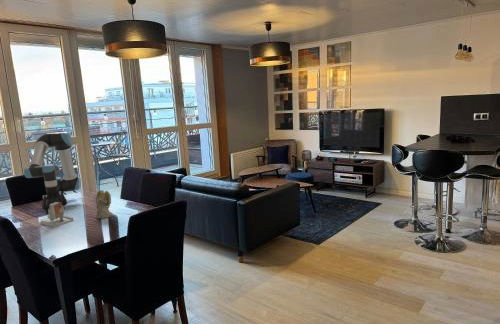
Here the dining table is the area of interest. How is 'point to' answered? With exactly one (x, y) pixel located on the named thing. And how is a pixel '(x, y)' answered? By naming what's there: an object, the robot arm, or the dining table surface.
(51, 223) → the pin tray
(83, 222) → the dining table surface
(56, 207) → the small box
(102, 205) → the figurine
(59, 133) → the robot arm
